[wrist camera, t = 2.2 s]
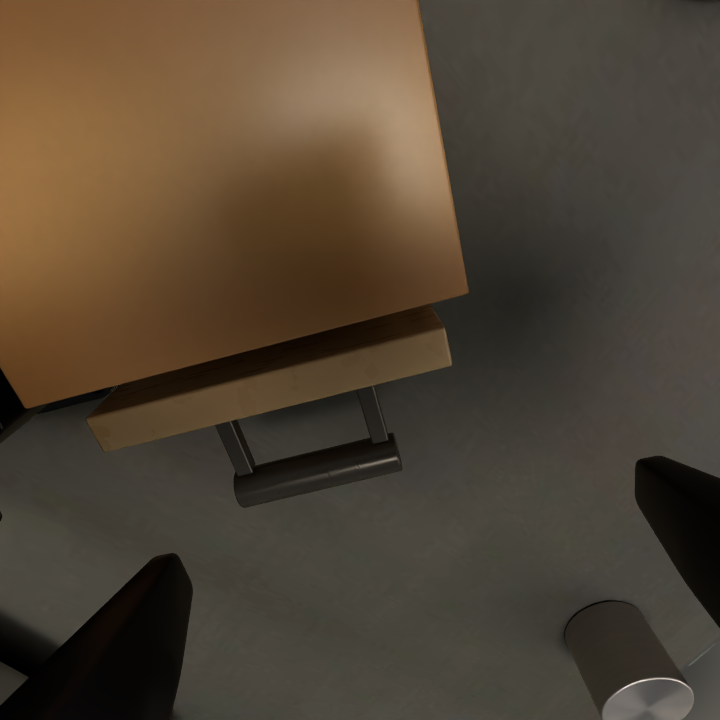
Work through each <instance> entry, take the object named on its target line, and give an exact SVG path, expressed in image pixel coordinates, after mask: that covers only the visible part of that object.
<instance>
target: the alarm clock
mask: <svg viewBox="0 0 720 720" xmlns="http://www.w3.org/2000/svg"><path fill="white" fill-rule="evenodd" d="M28 678H29V677H28V676H26V675H24V674H22V673H20V672H18V671H16V670H15V669H13V668H11V667H9V666H7V665H5V664H4V663H2V662H0V705H1V704H2V703H3V702H4V701H5V700H6V699H7V698H8V697H9V696H10V695H11V694H12V693H13V692H14V691H15V690H17V689H18V688H19V687H20V686H21V685H22V684H23V683H24V682H25V681H26V680H27V679H28Z"/></svg>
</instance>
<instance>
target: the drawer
mask: <svg viewBox="0 0 720 720" xmlns="http://www.w3.org/2000/svg"><path fill="white" fill-rule="evenodd" d="M451 365H452V359H451V354H450V349H449V344H448V339H447V334H446V329H445V327H444V326H443V324H442V322H441V321H440V319H439V317H438V316H437V314H436V313H435V311H434V309H433V308H432V306H431V305H430V304H427V305H423V306H419V307H415V308H411V309H407V310H404V311H400V312H396V313H392V314H388V315H384V316H380V317H377V318H373V319H369V320H365V321H361V322H357V323H354V324H350V325H346V326H342V327H338V328H334V329H331V330H327V331H323V332H319V333H315V334H311V335H308V336H304V337H300V338H296V339H292V340H288V341H284V342H281V343H277V344H273V345H269V346H265V347H261V348H258V349H254V350H250V351H246V352H242V353H238V354H235V355H231V356H227V357H223V358H219V359H215V360H212V361H208V362H204V363H200V364H196V365H192V366H189V367H185V368H181V369H177V370H173V371H169V372H165V373H162V374H158V375H154V376H150V377H146V378H142V379H139V380H135V381H131V382H127V383H123V384H121V385H120V386H119V387H118V388H117V389H116V390H115V391H114V392H113V393H112V394H111V395H110V396H109V397H108V398H107V399H105V400H104V401H103V402H102V403H101V404H100V405H99V406H98V407H97V408H96V409H95V410H94V411H93V412H92V413H91V414H90V415H89V416H88V417H87V418H86V422H87V424H88V426H89V427H90V429H91V431H92V433H93V434H94V436H95V438H96V440H97V441H98V443H99V445H100V447H101V448H102V450H103V451H104V452H109V451H113V450H117V449H121V448H125V447H129V446H133V445H137V444H141V443H145V442H149V441H153V440H157V439H161V438H165V437H169V436H173V435H177V434H181V433H185V432H189V431H193V430H197V429H201V428H205V427H209V426H213V425H215V426H216V428H217V430H218V433H219V435H220V437H221V439H222V442H223V444H224V446H225V448H226V451H227V453H228V455H229V457H230V460H231V462H232V464H233V466H234V469H235V471H236V472H235V475H234V491H235V495H236V498H237V501H238V503H239V504H240V506H241V507H244V508H246V507H250V506H255V505H259V504H263V503H267V502H272V501H276V500H280V499H284V498H288V497H293V496H297V495H301V494H305V493H310V492H314V491H318V490H322V489H327V488H331V487H335V486H339V485H344V484H348V483H352V482H356V481H361V480H365V479H369V478H373V477H377V476H382V475H386V474H390V473H394V472H399V471H402V469H403V468H402V462H401V458H400V454H399V450H398V446H397V442H396V438H395V435H394V433H388V432H387V428H386V425H385V421H384V417H383V414H382V410H381V407H380V403H379V399H378V396H377V392H376V389H375V385H377V384H381V383H385V382H389V381H393V380H397V379H401V378H405V377H409V376H413V375H417V374H420V373H424V372H428V371H432V370H436V369H440V368H444V367H448V366H451ZM353 390H357V394H358V397H359V400H360V404H361V407H362V410H363V414H364V417H365V421H366V424H367V427H368V431H369V434H370V437H371V438H367V439H363V440H359V441H355V442H350V443H346V444H342V445H338V446H334V447H330V448H326V449H322V450H317V451H313V452H309V453H305V454H301V455H297V456H293V457H289V458H284V459H280V460H276V461H272V462H268V463H264V464H260V465H256V466H255V461H254V459H253V457H252V454H251V452H250V450H249V447H248V445H247V442H246V440H245V438H244V435H243V433H242V431H241V428H240V426H239V423H238V421H237V419H241V418H245V417H249V416H253V415H257V414H261V413H265V412H269V411H273V410H277V409H281V408H285V407H289V406H293V405H297V404H301V403H305V402H309V401H313V400H317V399H321V398H325V397H329V396H333V395H337V394H341V393H345V392H349V391H353Z"/></svg>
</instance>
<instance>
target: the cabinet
mask: <svg viewBox="0 0 720 720" xmlns="http://www.w3.org/2000/svg"><path fill="white" fill-rule="evenodd" d="M468 292H469V289H468V283H467V277H466V272H465V266H464V260H463V254H462V249H461V243H460V237H459V231H458V226H457V220H456V214H455V208H454V203H453V197H452V191H451V185H450V180H449V174H448V168H447V162H446V157H445V151H444V145H443V139H442V134H441V128H440V122H439V117H438V111H437V105H436V99H435V94H434V88H433V82H432V76H431V71H430V65H429V59H428V53H427V48H426V42H425V36H424V30H423V25H422V19H421V13H420V7H419V2H418V0H0V368H1V370H2V371H3V373H4V375H5V376H6V378H7V379H8V381H9V383H10V384H11V386H12V388H13V389H14V391H15V392H16V394H17V396H18V397H19V399H20V400H21V402H22V404H23V405H24V407H25V408H31V407H35V406H39V405H43V404H46V403H50V402H54V401H58V400H62V399H66V398H69V397H73V396H77V395H81V394H85V393H89V392H92V391H96V390H100V389H104V388H108V387H112V386H116V385H119V384H123V383H127V382H131V381H135V380H139V379H142V378H146V377H150V376H154V375H158V374H162V373H165V372H169V371H173V370H177V369H181V368H185V367H189V366H192V365H196V364H200V363H204V362H208V361H212V360H215V359H219V358H223V357H227V356H231V355H235V354H238V353H242V352H246V351H250V350H254V349H258V348H261V347H265V346H269V345H273V344H277V343H281V342H284V341H288V340H292V339H296V338H300V337H304V336H308V335H311V334H315V333H319V332H323V331H327V330H331V329H334V328H338V327H342V326H346V325H350V324H354V323H357V322H361V321H365V320H369V319H373V318H377V317H380V316H384V315H388V314H392V313H396V312H400V311H404V310H407V309H411V308H415V307H419V306H423V305H427V304H430V303H434V302H438V301H442V300H446V299H450V298H453V297H457V296H461V295H465V294H467V293H468Z"/></svg>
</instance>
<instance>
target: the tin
mask: <svg viewBox="0 0 720 720" xmlns="http://www.w3.org/2000/svg"><path fill="white" fill-rule="evenodd" d="M565 640H566V643H567V646H568V648H569V650H570V652H571V654H572V656H573V658H574V661H575V663H576V665H577V667H578V669H579V671H580V673H581V676H582V678H583V680H584V682H585V684H586V686H587V689H588V691H589V693H590V695H591V697H592V699H593V701H594V704H595V706H596V708H597V710H598V712H599V714H600V716H601V719H602V720H682V719H683V718H684V717H685V716H686V715H687V714H688V713H689V711H690V710H691V708H692V706H693V703H694V695H693V691H692V689H691V688H690V686H689V685H688V683H687V682H686V680H685V678H684V677H683V675H682V674H681V672H680V671H679V669H678V668H677V666H676V665H675V663H674V662H673V660H672V659H671V657H670V656H669V654H668V653H667V651H666V650H665V648H664V647H663V645H662V644H661V642H660V641H659V639H658V638H657V636H656V635H655V633H654V632H653V630H652V629H651V627H650V626H649V624H648V623H647V621H646V620H645V618H644V617H643V615H642V614H641V612H640V611H639V610H638V609H637V608H635V607H634V606H632V605H630V604H627V603H623V602H615V601H611V602H603V603H599V604H595V605H592V606H590V607H588V608H586V609H584V610H582V611H581V612H579V613H578V614H577V615H575V616H574V617H573V618H572V620H571V621H570V622H569V624H568V626H567V628H566V631H565Z"/></svg>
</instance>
